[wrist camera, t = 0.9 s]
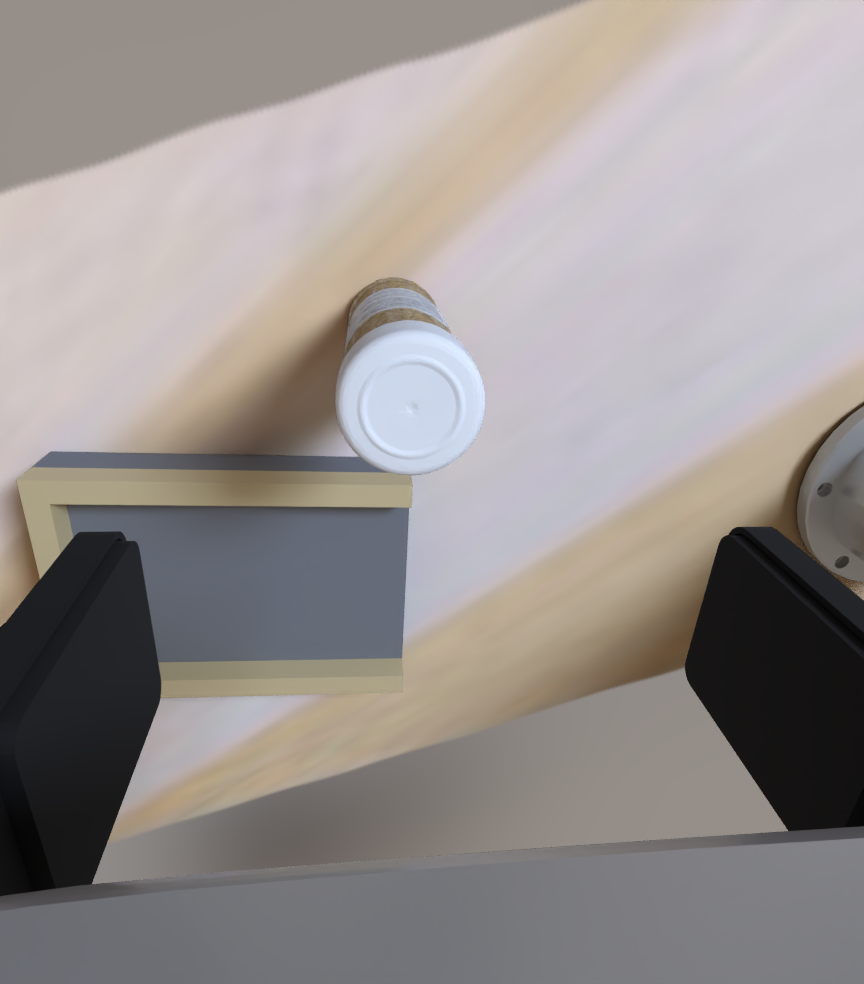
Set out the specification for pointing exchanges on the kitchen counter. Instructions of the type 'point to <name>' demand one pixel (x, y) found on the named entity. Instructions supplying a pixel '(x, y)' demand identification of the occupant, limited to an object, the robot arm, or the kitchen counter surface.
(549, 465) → the kitchen counter surface
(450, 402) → the sprinkles bottle
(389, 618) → the tray
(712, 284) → the kitchen counter surface
